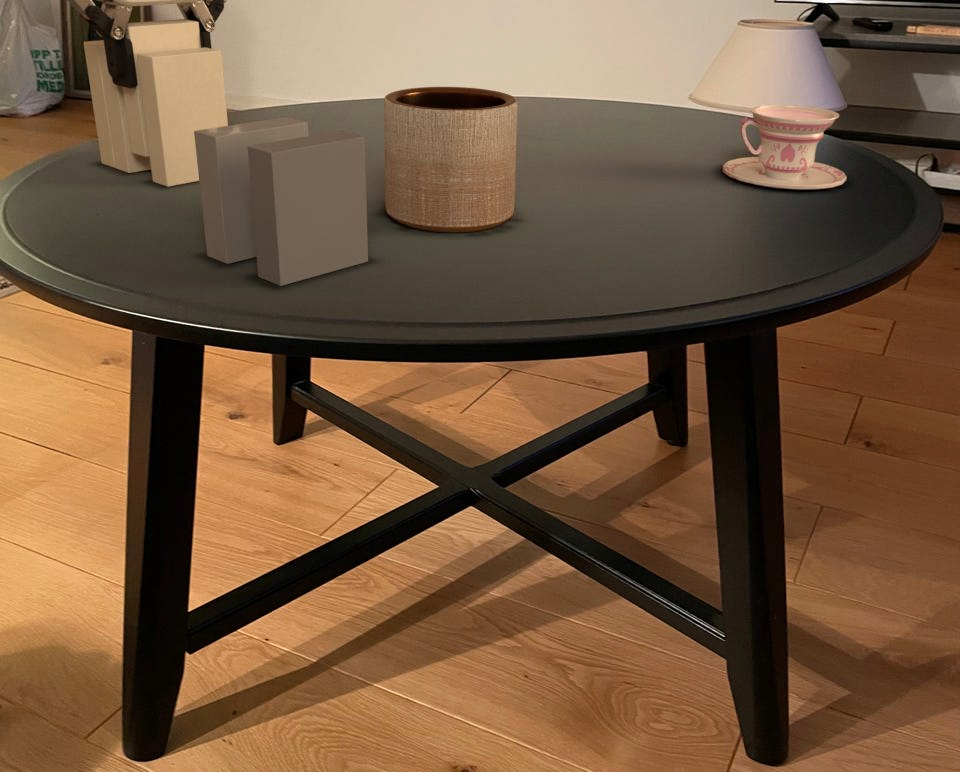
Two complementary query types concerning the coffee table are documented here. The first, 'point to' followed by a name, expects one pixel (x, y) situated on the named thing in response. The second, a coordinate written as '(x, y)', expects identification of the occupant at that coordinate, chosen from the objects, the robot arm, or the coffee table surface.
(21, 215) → the coffee table surface
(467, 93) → the planter
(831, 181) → the teacup
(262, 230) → the grey books
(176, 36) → the cream book
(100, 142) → the cream books
